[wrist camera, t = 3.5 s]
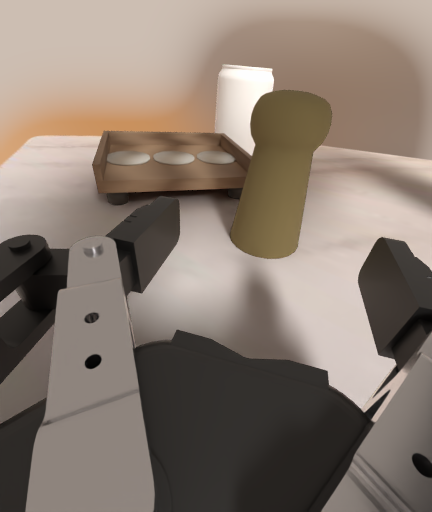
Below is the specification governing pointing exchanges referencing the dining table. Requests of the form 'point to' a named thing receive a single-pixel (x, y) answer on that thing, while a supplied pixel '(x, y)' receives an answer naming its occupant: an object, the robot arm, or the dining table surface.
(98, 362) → the robot arm
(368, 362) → the dining table surface
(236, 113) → the beverage can
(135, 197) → the dining table surface
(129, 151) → the wooden tray
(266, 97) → the olive pawn figure
